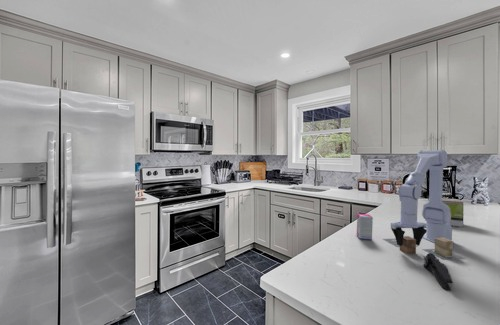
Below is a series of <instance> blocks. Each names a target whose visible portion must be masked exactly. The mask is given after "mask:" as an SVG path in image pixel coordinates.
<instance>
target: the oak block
mask: <svg viewBox="0 0 500 325" xmlns="http://www.w3.org/2000/svg"><path fill="white" fill-rule="evenodd" d="M453 243H454V240H452V241H451V240H448V239H445V238H435V243H434V249H435V253H437V254H440V255H442V256H452V253H453V245H454V244H453Z"/></svg>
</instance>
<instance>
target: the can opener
mask: <svg viewBox="0 0 500 325" xmlns="http://www.w3.org/2000/svg"><path fill="white" fill-rule="evenodd" d="M423 260H424V262H423V268H425V269H426V270H429V271H431V272H432V273H433V275H434V277H435V279H436V281H437V283H438V284H439V285H440V286H441V288H442V289H444V290H445V291H451V286H450V284H453V283H454V282H453V279H452V277H451V275H450V271H449V268H448V267H447V266H446V265H445V264H444V263H443V262H441V261H440V258H438V257H436V256H435V255H433V254H432V253H427V254H426V256H423Z"/></svg>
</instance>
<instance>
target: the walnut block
mask: <svg viewBox="0 0 500 325" xmlns="http://www.w3.org/2000/svg"><path fill="white" fill-rule="evenodd" d="M416 246H417V245H416V239H414V237H411V236H410V235H404V236H403V244H402V246H400V247H399V250H400V252H402V253H404V254H406V255H408V254H409V255H411V254H416V253H417V247H416Z"/></svg>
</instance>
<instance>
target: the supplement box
mask: <svg viewBox="0 0 500 325" xmlns="http://www.w3.org/2000/svg"><path fill="white" fill-rule="evenodd" d="M356 214H357V215H356V217H357V218H356V237H357V239H359V240H361V241H363V240H364V241H372V240H373V224H374V222H373V219H374V218H373V217H374V216H372V215H371V214H368V213H367V214H366V213H356Z"/></svg>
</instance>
